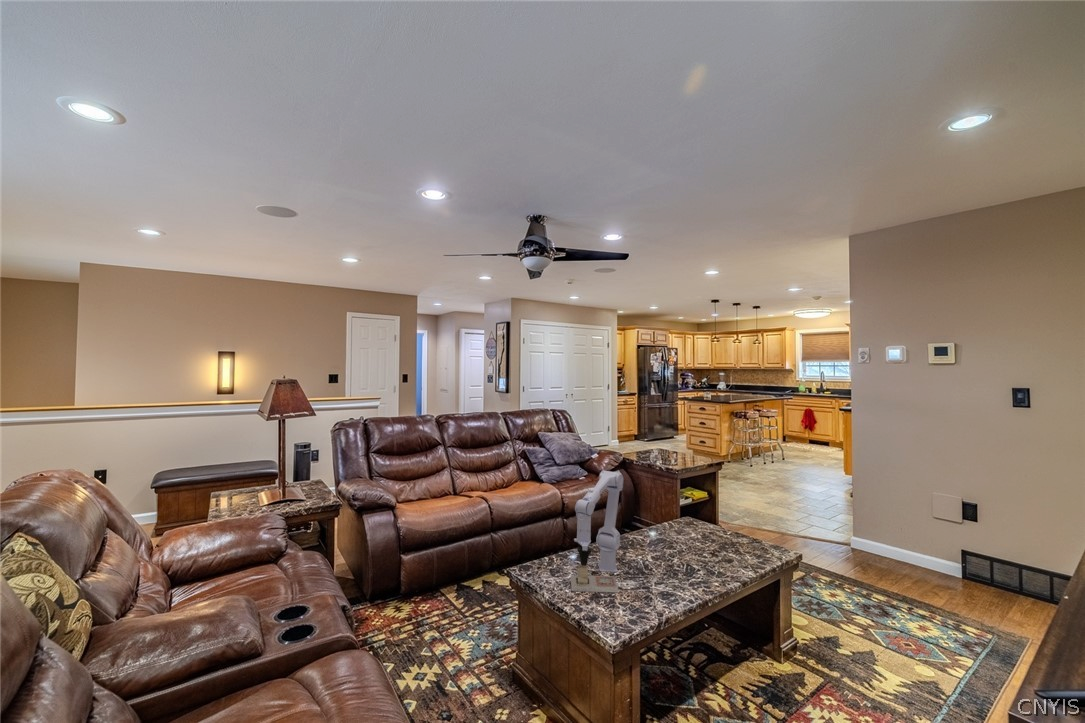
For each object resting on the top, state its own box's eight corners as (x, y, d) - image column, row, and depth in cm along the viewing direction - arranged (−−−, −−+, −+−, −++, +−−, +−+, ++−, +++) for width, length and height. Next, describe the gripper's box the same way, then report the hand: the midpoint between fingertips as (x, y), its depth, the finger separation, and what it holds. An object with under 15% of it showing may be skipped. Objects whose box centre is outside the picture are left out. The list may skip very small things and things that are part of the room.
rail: (570, 579, 194) (570, 574, 194) (614, 581, 194) (614, 575, 194) (571, 591, 184) (571, 585, 184) (618, 592, 184) (618, 587, 184)
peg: (577, 583, 191) (577, 564, 191) (586, 583, 191) (587, 564, 191) (578, 587, 187) (578, 568, 187) (587, 588, 187) (587, 568, 187)
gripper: (573, 523, 197) (572, 554, 196) (575, 534, 182) (574, 568, 182) (589, 523, 197) (588, 555, 196) (592, 535, 182) (592, 569, 182)
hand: (583, 561), depth 189 cm, fingers open, 7 cm apart
